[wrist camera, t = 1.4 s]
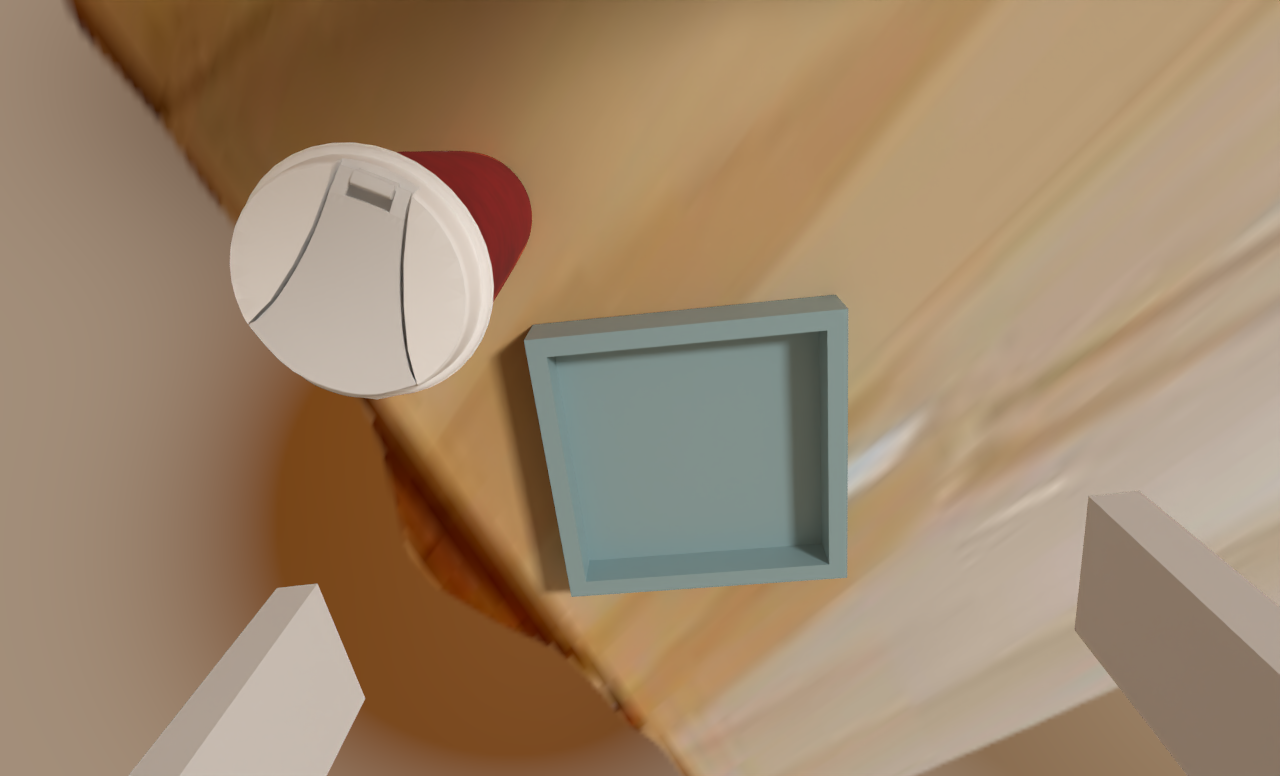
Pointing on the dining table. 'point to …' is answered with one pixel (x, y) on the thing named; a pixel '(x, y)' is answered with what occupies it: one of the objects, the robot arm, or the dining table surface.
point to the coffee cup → (377, 262)
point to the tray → (697, 444)
